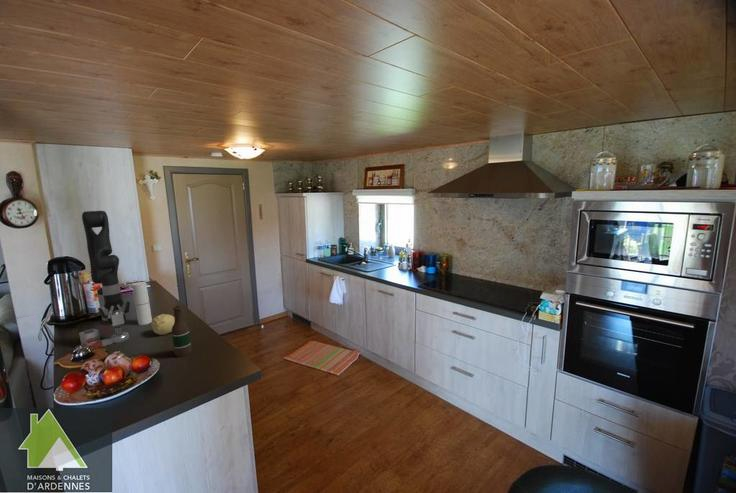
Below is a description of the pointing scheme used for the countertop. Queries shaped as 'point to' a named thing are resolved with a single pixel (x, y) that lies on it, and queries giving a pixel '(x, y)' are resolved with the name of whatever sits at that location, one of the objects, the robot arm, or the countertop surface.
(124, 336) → the wine glass
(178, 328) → the beer bottle
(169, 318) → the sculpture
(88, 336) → the socket
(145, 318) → the cylindrical container
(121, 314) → the socket
